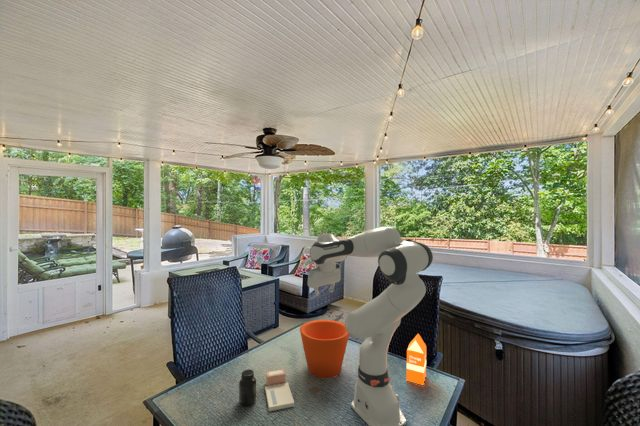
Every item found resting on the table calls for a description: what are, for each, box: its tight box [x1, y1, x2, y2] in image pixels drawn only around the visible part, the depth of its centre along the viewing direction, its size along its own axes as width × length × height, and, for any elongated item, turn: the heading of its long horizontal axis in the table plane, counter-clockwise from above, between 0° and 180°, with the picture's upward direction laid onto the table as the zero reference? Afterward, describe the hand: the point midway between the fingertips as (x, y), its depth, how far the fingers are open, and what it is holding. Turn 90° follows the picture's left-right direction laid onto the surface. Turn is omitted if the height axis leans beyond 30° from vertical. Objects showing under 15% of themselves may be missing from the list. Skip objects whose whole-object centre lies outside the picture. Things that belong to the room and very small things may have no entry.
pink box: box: [265, 369, 286, 386], centre depth 124 cm, size 4×8×5 cm, turn 108°
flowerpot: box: [299, 319, 350, 380], centre depth 137 cm, size 25×25×20 cm
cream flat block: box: [264, 381, 295, 412], centre depth 115 cm, size 14×10×2 cm
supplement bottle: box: [238, 369, 257, 408], centre depth 112 cm, size 7×7×12 cm
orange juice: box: [406, 333, 427, 386], centre depth 130 cm, size 8×9×20 cm
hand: (324, 293), depth 137 cm, fingers open, 8 cm apart
